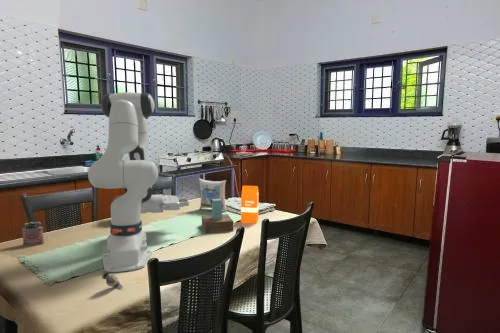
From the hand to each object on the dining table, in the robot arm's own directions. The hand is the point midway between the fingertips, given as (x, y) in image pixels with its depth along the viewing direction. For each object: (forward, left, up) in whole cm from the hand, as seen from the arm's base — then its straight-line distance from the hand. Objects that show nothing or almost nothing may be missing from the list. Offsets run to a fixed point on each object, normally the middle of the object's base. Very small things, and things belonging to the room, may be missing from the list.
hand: (188, 202), depth 167 cm
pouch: (+37, -19, -15) cm, 44 cm away
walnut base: (0, -15, -15) cm, 21 cm away
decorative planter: (+27, +32, -15) cm, 45 cm away
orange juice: (+8, -35, -15) cm, 39 cm away
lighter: (-3, +68, -15) cm, 70 cm away
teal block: (0, -15, -10) cm, 18 cm away
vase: (-55, +30, -15) cm, 65 cm away
